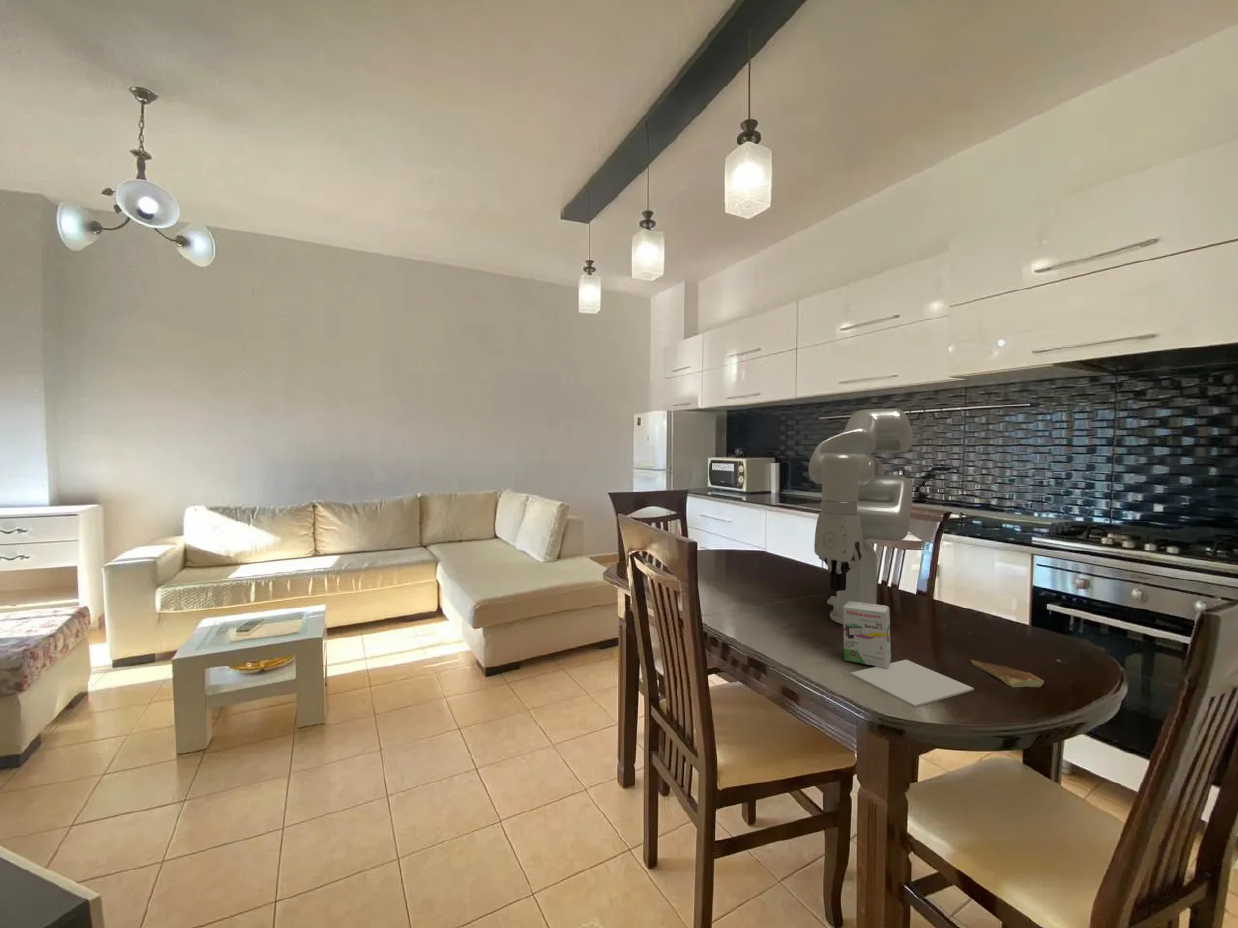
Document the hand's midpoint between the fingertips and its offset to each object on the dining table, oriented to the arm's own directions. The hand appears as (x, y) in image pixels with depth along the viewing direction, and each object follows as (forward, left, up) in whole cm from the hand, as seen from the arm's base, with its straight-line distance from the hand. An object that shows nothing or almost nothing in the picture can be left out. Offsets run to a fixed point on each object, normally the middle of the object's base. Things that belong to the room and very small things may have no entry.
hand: (837, 589), depth 115 cm
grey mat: (+18, +1, -14) cm, 22 cm away
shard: (+24, +19, -14) cm, 34 cm away
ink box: (+8, +1, -14) cm, 16 cm away
